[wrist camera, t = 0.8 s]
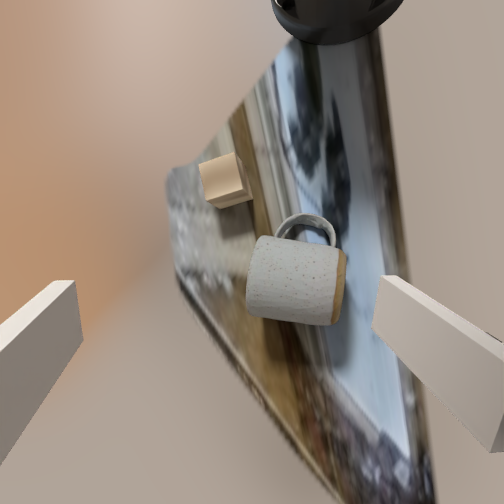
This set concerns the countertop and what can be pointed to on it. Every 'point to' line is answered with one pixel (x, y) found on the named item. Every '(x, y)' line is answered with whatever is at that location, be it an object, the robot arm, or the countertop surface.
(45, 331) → the robot arm
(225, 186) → the birch block
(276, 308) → the ceramic mug
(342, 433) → the countertop surface
